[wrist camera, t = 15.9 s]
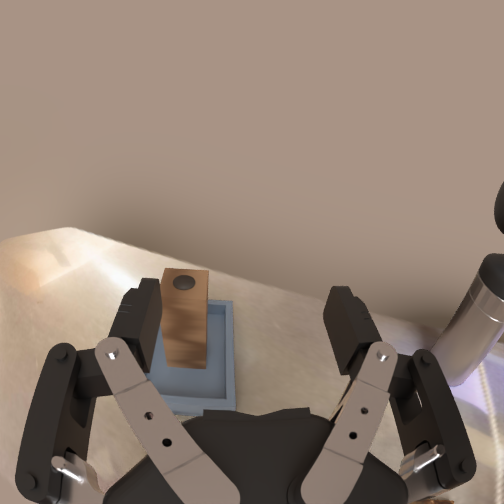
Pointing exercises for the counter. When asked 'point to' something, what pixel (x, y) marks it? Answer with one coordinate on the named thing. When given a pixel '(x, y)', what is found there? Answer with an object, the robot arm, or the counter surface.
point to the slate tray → (200, 380)
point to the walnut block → (184, 317)
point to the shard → (432, 502)
